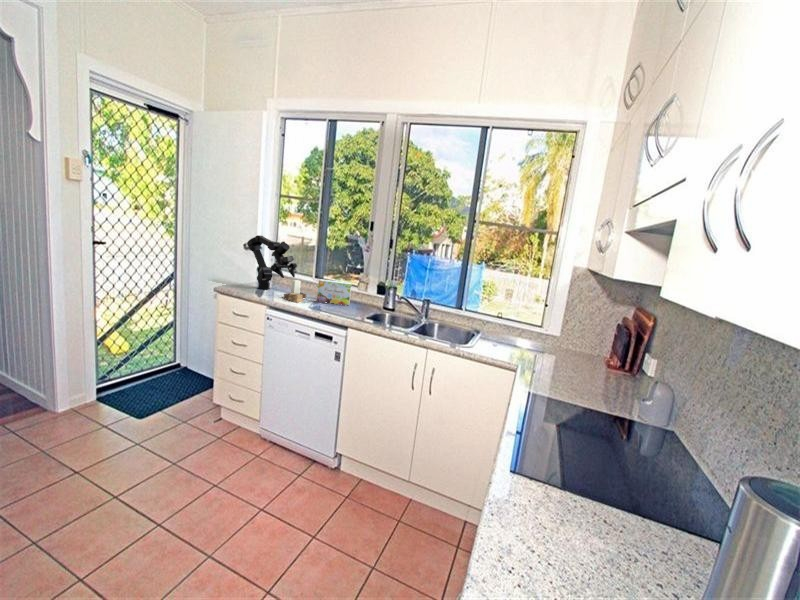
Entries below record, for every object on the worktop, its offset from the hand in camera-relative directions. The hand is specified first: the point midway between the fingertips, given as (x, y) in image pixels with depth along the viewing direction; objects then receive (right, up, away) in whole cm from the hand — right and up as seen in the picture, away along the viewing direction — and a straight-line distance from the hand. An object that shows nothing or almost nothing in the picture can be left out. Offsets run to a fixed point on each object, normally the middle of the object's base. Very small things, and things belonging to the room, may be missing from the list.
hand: (289, 277), depth 255 cm
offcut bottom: (+8, -16, -11) cm, 21 cm away
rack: (+5, -14, -2) cm, 15 cm away
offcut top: (+8, -14, -11) cm, 19 cm away
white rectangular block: (+5, -14, -2) cm, 15 cm away
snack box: (+30, -18, -3) cm, 35 cm away
